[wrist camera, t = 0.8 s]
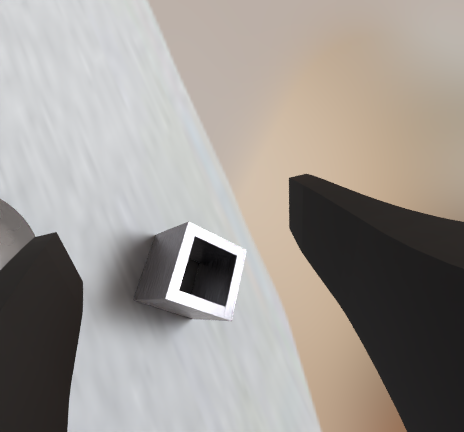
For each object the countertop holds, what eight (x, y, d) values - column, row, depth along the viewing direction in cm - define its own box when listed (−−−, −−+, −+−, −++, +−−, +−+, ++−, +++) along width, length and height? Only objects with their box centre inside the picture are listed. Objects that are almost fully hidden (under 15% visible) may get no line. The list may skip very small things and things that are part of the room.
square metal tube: (192, 318, 25) (231, 320, 21) (133, 300, 23) (165, 298, 19) (208, 258, 27) (246, 250, 23) (155, 234, 25) (188, 221, 21)
